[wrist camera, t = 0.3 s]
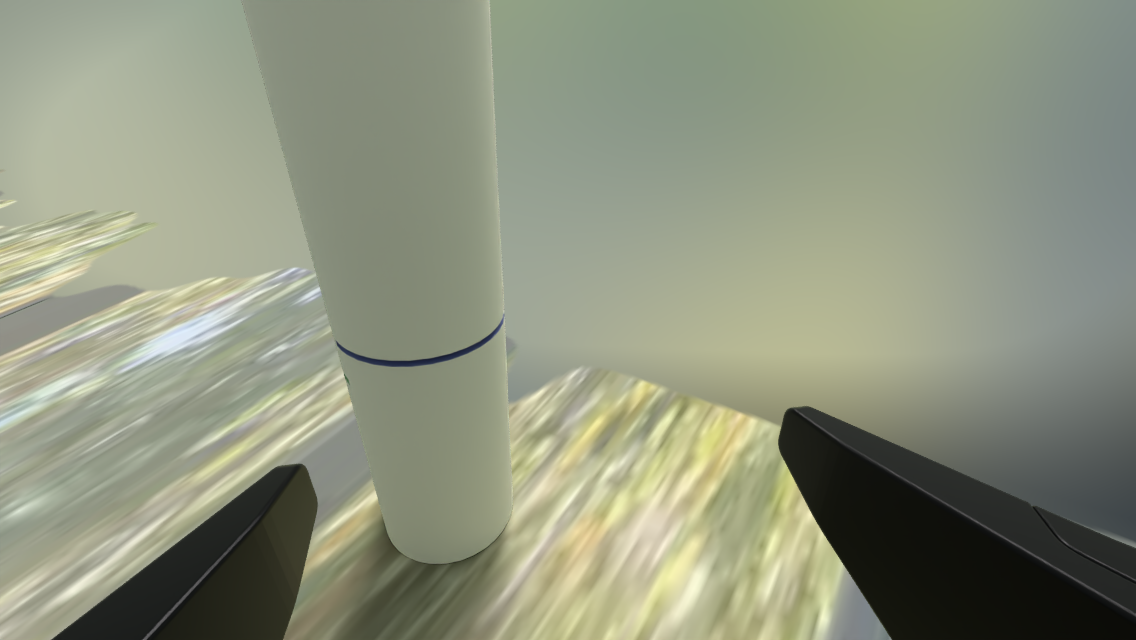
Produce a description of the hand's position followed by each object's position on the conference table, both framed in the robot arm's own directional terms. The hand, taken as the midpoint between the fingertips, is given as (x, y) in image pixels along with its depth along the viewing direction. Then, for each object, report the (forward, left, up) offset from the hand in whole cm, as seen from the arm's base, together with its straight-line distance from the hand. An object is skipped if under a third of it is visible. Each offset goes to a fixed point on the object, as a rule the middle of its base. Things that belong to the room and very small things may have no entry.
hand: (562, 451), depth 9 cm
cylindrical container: (+12, +5, -17) cm, 21 cm away
